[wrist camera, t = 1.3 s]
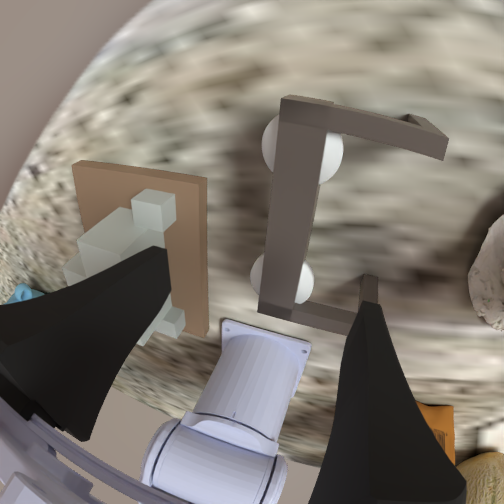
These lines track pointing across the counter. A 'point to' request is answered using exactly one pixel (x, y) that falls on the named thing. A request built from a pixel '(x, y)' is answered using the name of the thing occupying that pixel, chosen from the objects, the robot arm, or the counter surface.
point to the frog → (489, 277)
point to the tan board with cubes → (146, 234)
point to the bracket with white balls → (306, 195)
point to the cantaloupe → (484, 478)
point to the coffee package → (441, 426)
